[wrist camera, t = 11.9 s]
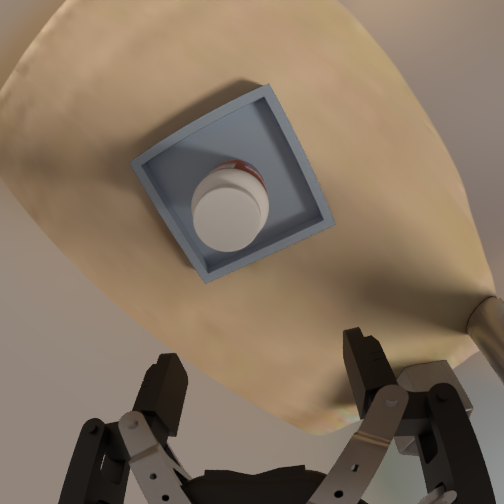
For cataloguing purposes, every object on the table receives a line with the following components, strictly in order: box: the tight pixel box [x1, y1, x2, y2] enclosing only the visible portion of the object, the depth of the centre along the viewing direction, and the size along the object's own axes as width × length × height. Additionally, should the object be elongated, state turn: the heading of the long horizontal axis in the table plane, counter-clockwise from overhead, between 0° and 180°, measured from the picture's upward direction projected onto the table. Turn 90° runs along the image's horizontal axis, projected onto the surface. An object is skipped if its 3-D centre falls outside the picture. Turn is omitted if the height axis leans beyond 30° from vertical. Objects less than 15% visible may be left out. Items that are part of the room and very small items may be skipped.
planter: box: [394, 360, 473, 456], centre depth 36 cm, size 16×8×19 cm, turn 130°
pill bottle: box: [191, 160, 269, 252], centre depth 24 cm, size 6×6×11 cm
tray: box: [129, 83, 335, 284], centre depth 29 cm, size 16×16×2 cm
